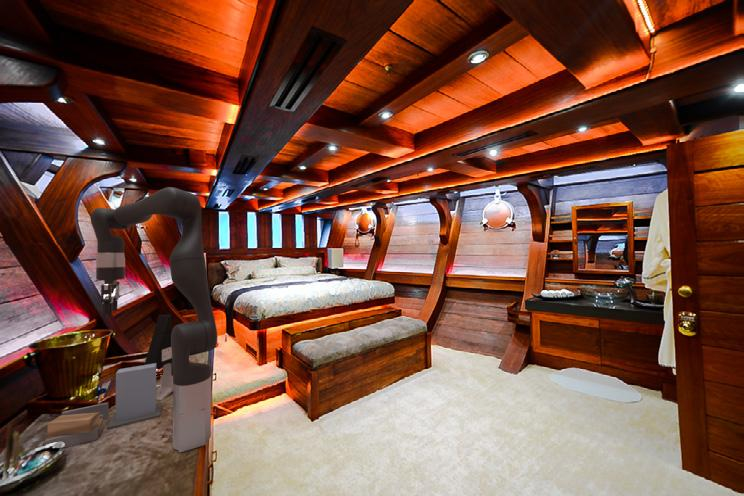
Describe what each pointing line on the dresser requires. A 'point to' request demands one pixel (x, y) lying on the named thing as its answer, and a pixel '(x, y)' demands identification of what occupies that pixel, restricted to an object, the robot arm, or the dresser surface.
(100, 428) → the offcut lower
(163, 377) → the award
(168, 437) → the dresser surface
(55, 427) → the offcut upper
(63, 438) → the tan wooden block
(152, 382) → the sheet
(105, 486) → the dresser surface
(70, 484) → the dresser surface
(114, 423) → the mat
